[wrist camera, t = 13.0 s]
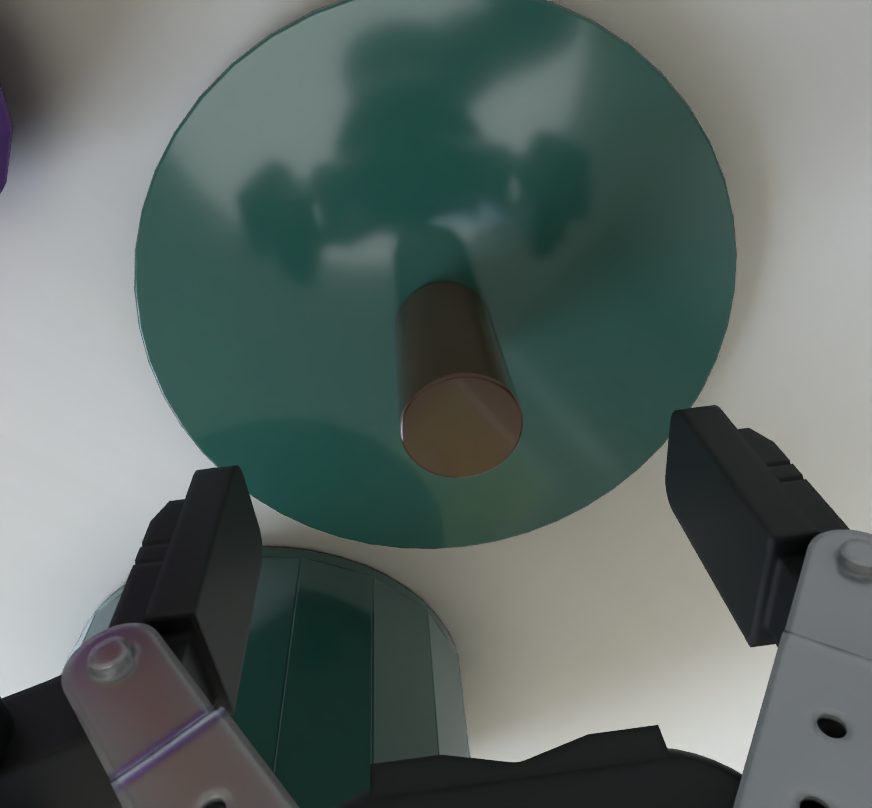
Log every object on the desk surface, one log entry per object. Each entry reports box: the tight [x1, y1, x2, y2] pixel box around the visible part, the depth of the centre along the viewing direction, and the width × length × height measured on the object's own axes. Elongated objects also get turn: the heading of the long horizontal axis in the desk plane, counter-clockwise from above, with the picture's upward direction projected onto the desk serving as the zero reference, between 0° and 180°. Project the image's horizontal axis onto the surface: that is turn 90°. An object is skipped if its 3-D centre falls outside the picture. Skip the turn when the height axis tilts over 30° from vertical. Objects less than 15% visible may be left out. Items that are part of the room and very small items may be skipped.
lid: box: [134, 0, 737, 549], centre depth 17 cm, size 16×16×6 cm
